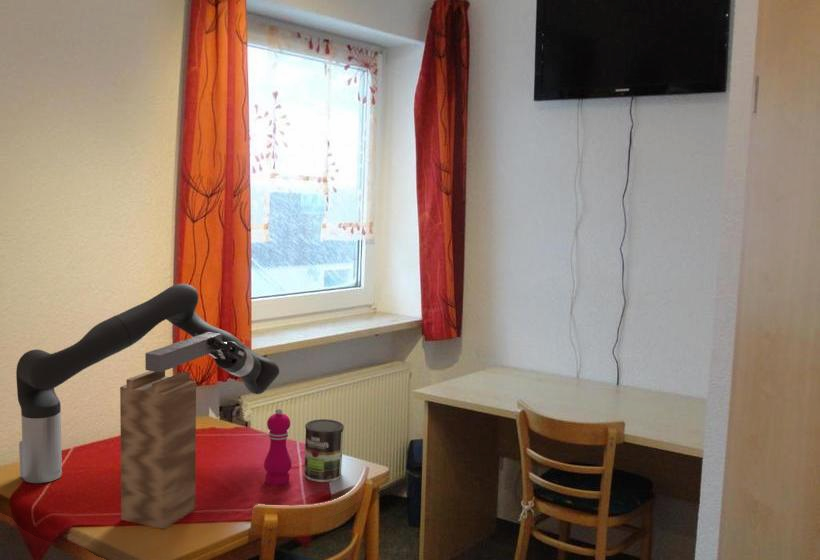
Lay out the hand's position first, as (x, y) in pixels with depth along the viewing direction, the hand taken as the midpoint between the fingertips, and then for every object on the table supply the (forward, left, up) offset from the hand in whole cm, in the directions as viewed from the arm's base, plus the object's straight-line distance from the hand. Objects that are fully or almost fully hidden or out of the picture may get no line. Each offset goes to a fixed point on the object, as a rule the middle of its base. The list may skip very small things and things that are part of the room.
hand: (202, 339), depth 206 cm
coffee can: (+24, +22, -39) cm, 51 cm away
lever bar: (0, -7, -3) cm, 8 cm away
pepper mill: (+15, +13, -39) cm, 44 cm away
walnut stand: (0, -17, -39) cm, 43 cm away
